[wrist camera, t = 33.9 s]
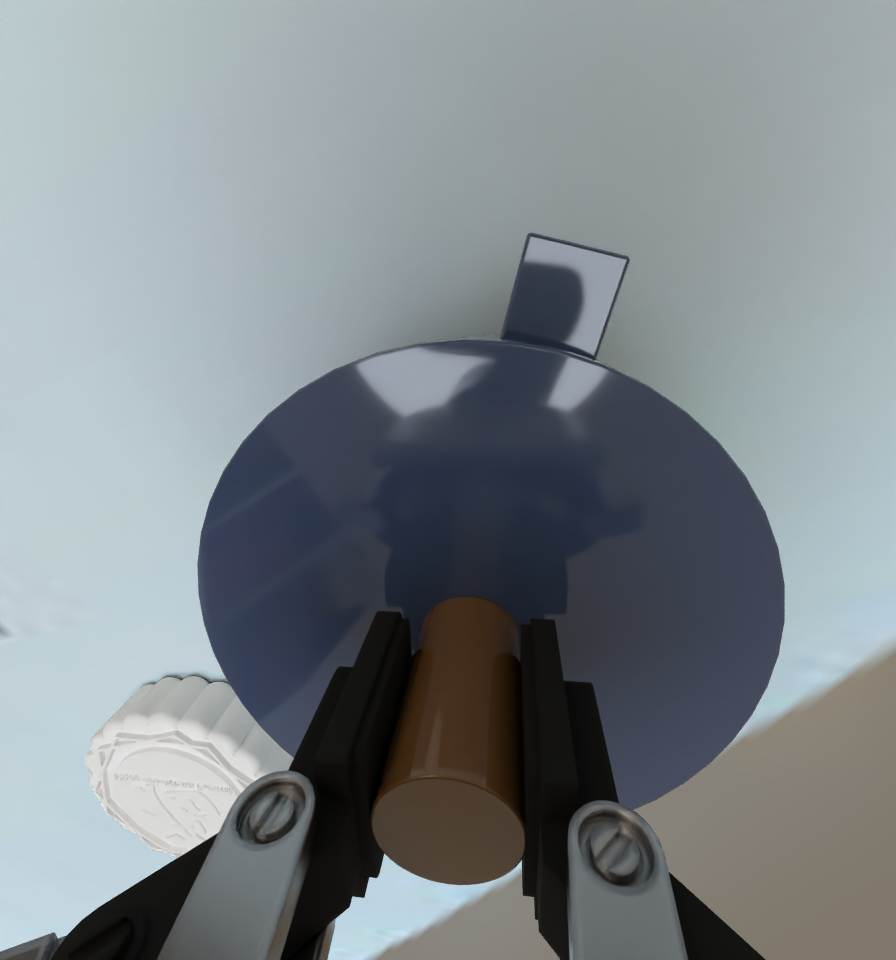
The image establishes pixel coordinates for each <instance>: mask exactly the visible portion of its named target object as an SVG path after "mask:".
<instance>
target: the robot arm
mask: <svg viewBox="0 0 896 960" xmlns="http://www.w3.org/2000/svg"><path fill="white" fill-rule="evenodd" d="M411 660H412V649H411V635H410V622H409V619H406V618H402V615H401V613H400V612H390V611H377V612H376V614H375V616H374V619H373V621H372V623H371V626H370V628H369V630H368V633H367V635H366V637H365V640H364V642H363V644H362V647H361V649H360V651H359V654H358V656H357V658H356V661H355V663H354V665H353V667H344V666H339V667H338V668H337V669H336V671H335V672H334V674H333V676H332V678H331V681H330V683H329V685H328V687H327V689H326V691H325V693H324V695H323V697H322V700H321V702H320V704H319V706H318V708H317V710H316V712H315V714H314V716H313V719H312V721H311V723H310V725H309V727H308V729H307V731H306V733H305V736H304V738H303V740H302V742H301V744H300V746H299V748H298V750H297V752H296V755H295V757H294V759H293V761H292V763H291V765H290V767H289V769H288V770H286V771H277V772H273V773H270V774H268V775H265V776H262V777H261V778H259V779H258V780H256V781H254V782H253V783H251V784H250V785H249V786H248V787H247V788H246V789H245V790H244V791H243V792H242V793H241V794H240V795H239V796H238V797H237V799H236V800H235V802H234V804H233V805H232V807H231V808H230V810H229V812H228V814H227V817H226V819H225V821H224V823H223V825H222V827H221V829H220V831H219V832H218V833H217V834H215V835H214V836H212V837H210V838H209V839H207V840H206V841H204V842H202V843H201V844H199V845H198V846H196V847H194V848H193V849H191V850H190V851H188V852H186V853H185V854H183V855H182V856H180V857H178V858H177V859H175V860H174V861H172V862H170V863H169V864H167V865H166V866H164V867H162V868H161V869H159V870H158V871H156V872H154V873H153V874H151V875H150V876H148V877H146V878H145V879H143V880H142V881H140V882H138V883H137V884H135V885H134V886H132V887H130V888H129V889H127V890H126V891H124V892H122V893H121V894H119V895H118V896H116V897H114V898H113V899H111V900H110V901H108V902H106V903H105V904H103V905H102V906H100V907H99V908H97V909H96V910H95V911H93V912H92V913H91V914H89V915H88V916H87V917H85V918H84V919H83V920H81V922H80V923H79V924H78V925H77V926H76V927H75V928H74V929H73V930H72V931H71V932H70V933H69V934H68V935H67V936H64V937H61V938H59V939H58V938H57V936H56V934H55V932H54V933H51V934H48V935H45V936H43V937H40V938H37V939H34V940H31V941H29V942H26V943H23V944H20V945H18V946H15V947H12V948H9V949H7V950H4V951H1V952H0V960H327V959H328V954H329V950H330V945H331V941H332V937H333V932H334V928H335V919H336V918H337V917H338V916H339V915H340V914H342V913H343V912H344V911H345V910H346V909H348V908H349V907H350V903H351V899H352V896H354V897H362V898H364V897H365V892H366V888H367V884H368V880H369V877H373V878H377V877H378V875H379V873H380V869H381V865H382V861H383V856H384V852H383V851H382V850H381V849H380V847H379V846H378V844H377V843H376V841H375V839H374V837H373V834H372V830H371V822H370V811H371V807H372V803H373V799H374V796H375V792H376V788H377V785H378V781H379V777H380V774H381V770H382V766H383V763H384V759H385V755H386V752H387V748H388V744H389V741H390V737H391V733H392V730H393V726H394V722H395V719H396V715H397V711H398V708H399V704H400V700H401V697H402V693H403V689H404V686H405V682H406V678H407V675H408V671H409V667H410V664H411ZM520 667H521V699H522V730H523V762H524V793H525V854H524V856H523V858H522V886H523V896H531V897H534V905H535V919H536V920H538V924H539V932H540V933H541V935H542V936H543V937H544V938H545V940H546V941H547V942H548V944H549V945H550V946H551V948H552V949H553V950H554V951H555V953H556V954H557V956H558V957H557V960H765V959H764V958H763V957H762V956H761V955H760V954H759V953H758V952H757V951H755V950H754V949H753V948H752V947H751V946H750V945H749V944H748V943H747V942H746V941H744V940H743V939H742V938H741V937H740V936H739V935H738V934H737V933H736V932H735V931H733V930H732V929H731V928H730V927H729V926H728V925H727V924H726V923H725V922H723V921H722V920H721V919H720V918H719V917H718V916H717V915H716V914H715V913H714V912H712V911H711V910H710V909H709V908H708V907H707V906H706V905H705V904H704V903H703V902H702V901H700V900H699V899H698V898H697V897H696V896H695V895H694V894H693V893H692V892H690V891H689V890H688V889H687V888H686V887H685V886H684V885H683V884H682V883H681V882H679V881H678V880H677V879H676V878H675V877H674V876H673V875H672V874H670V872H668V867H667V863H666V858H665V855H664V851H663V849H662V846H661V843H660V840H659V838H658V837H657V835H656V834H655V832H654V831H653V829H652V828H651V826H650V825H649V824H648V823H647V822H646V821H645V820H644V819H643V818H642V817H641V816H640V815H639V814H638V813H636V812H635V811H633V810H631V809H630V808H628V807H626V806H624V805H622V804H619V800H618V796H617V791H616V787H615V782H614V778H613V773H612V769H611V764H610V760H609V755H608V750H607V746H606V741H605V737H604V732H603V728H602V723H601V719H600V714H599V710H598V705H597V701H596V696H595V692H594V688H593V685H592V683H591V682H577V681H564V679H563V672H562V665H561V658H560V652H559V645H558V638H557V631H556V624H555V620H554V619H534V618H531V621H530V625H525V624H522V625H521V657H520Z"/></svg>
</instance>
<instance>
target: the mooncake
mask: <svg viewBox="0 0 896 960" xmlns="http://www.w3.org/2000/svg"><path fill="white" fill-rule="evenodd" d="M90 748H91V751H90V752H89V753H88V754H87V756H86V760H85V762H86V766H87V768H88V770H89V771H90V772H91V774H90V776H89V784H90V786H91V788H92V789H93V792H94V793H95V794H96V795H97V796H98V797H99V800H100V803H101V805H102V807H103V808H104V809H105V813H106V814H107V815H108V816H110V817H112V818H113V819H115V820H117V822H118V823H119V825H120V826H121V827H123V828H124V829H126V830H128V831H131V832H135V833H136V834H137V835H138V836H139V838H140V839H141V840H142V841H143V842H144V843H146V844H147V845H148V846H149V847H150V848H151V849H152V850H155V851H162V852H167V853H168V854H170V855H173V856H174V857H176V858H178V857H180V856H182V855H183V854H185V853H186V852H188V851H190V850H191V849H193V848H194V847H196V846H198V845H199V844H201V843H202V842H204V841H206V840H207V839H209V838H210V837H212V836H214V835H215V834H217V833H218V832H219V831H220V829H221V827H222V825H223V823H224V821H225V819H226V817H227V814H228V812H229V810H230V808H231V807H232V805H233V804H234V802H235V800H236V799H237V797H238V796H239V795H240V794H241V793H242V792H243V791H244V790H245V789H246V788H247V787H248V786H249V785H250V784H251V783H253V782H254V781H256V780H258V779H259V778H261V777H262V776H265V775H268V774H270V773H273V772H277V771H286V770H288V769H289V767H290V765H291V763H292V761H293V759H294V758H293V757H292V756H290V755H289V754H288V753H287V752H285V751H284V750H283V749H282V748H281V747H280V746H279V745H278V744H277V743H276V742H275V741H274V740H273V739H272V738H271V737H270V736H269V735H268V734H267V733H266V732H265V731H264V730H263V729H262V728H261V727H260V726H259V725H258V723H257V722H256V721H255V720H254V718H253V717H252V716H251V715H250V713H249V712H248V711H247V710H246V708H245V707H244V706H243V705H242V703H241V702H240V700H239V699H238V697H237V695H236V694H235V692H234V691H233V689H232V687H231V686H230V685H228V684H226V683H223V682H213V683H211V684H209V683H208V682H207V681H206V680H204V679H203V678H200V677H196V676H190V677H186V678H184V679H183V680H182V681H181V680H179V679H177V678H173V677H166V678H163V679H161V680H159V681H158V682H157V683H156V684H155V685H153V684H149V685H145V686H143V687H141V688H140V689H139V690H138V691H137V692H136V693H135V694H134V695H133V696H132V697H131V698H130V699H129V700H128V701H127V702H126V703H125V704H124V705H123V706H122V707H121V708H120V709H119V710H118V711H117V712H116V713H115V714H114V715H113V716H112V717H111V718H110V719H109V720H108V721H107V722H106V723H105V724H104V726H103V727H102V728H101V729H100V730H99V731H98V732H97V733H96V734H95V735H94V736H93V737H92V739H91V742H90Z"/></svg>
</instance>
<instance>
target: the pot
mask: <svg viewBox="0 0 896 960" xmlns="http://www.w3.org/2000/svg"><path fill="white" fill-rule="evenodd" d="M628 264H629V257H628V256H625V255H621V254H617V253H613V252H609V251H605V250H601V249H597V248H593V247H589V246H585V245H580V244H576V243H572V242H568V241H564V240H560V239H556V238H552V237H548V236H544V235H540V234H536V233H528V235H527V237H526V241H525V244H524V248H523V252H522V256H521V259H520V263H519V267H518V271H517V275H516V278H515V282H514V286H513V290H512V293H511V297H510V301H509V305H508V309H507V312H506V316H505V320H504V324H503V327H502V331H501V333H490V334H484V335H478V336H471V337H462V338H488V339H511V340H517V341H523V342H528V343H534V344H539V345H545V346H550V347H556V348H559V349H563V350H566V351H569V352H572V353H575V354H578V355H581V356H584V357H587V358H590V359H593V360H596V357H597V354H598V351H599V348H600V346H601V343H602V340H603V337H604V334H605V331H606V328H607V325H608V322H609V319H610V317H611V314H612V311H613V308H614V305H615V302H616V299H617V296H618V293H619V290H620V288H621V285H622V282H623V279H624V276H625V273H626V270H627V267H628Z"/></svg>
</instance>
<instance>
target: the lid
mask: <svg viewBox="0 0 896 960" xmlns="http://www.w3.org/2000/svg"><path fill="white" fill-rule="evenodd" d="M198 589H199V599H200V604H201V610H202V615H203V621H204V625H205V628H206V631H207V634H208V637H209V640H210V643H211V646H212V650H213V652H214V655H215V657H216V659H217V661H218V663H219V665H220V667H221V669H222V671H223V673H224V676H225V678H226V680H227V681H228V683H229V684H230V686H231V687H232V689H233V691H234V692H235V694H236V695H237V697H238V699H239V700H240V702H241V703H242V705H243V706H244V707H245V708H246V710H247V711H248V712H249V713H250V715H251V716H252V717H253V718H254V720H255V721H256V722H257V723H258V725H259V726H260V727H261V728H262V729H263V730H264V731H265V732H266V733H267V734H268V735H269V736H270V737H271V738H272V739H273V740H274V741H275V742H276V743H277V744H278V745H279V746H280V747H281V748H282V749H283V750H284V751H285V752H287V753H288V754H289V755H290V756H292V757H293V758H294V757H295V755H296V752H297V750H298V748H299V746H300V744H301V742H302V740H303V738H304V736H305V733H306V731H307V729H308V727H309V725H310V723H311V721H312V719H313V716H314V714H315V712H316V710H317V708H318V706H319V704H320V702H321V700H322V697H323V695H324V693H325V691H326V689H327V687H328V685H329V683H330V681H331V678H332V676H333V674H334V672H335V671H336V669H337V668H338V667H339V666H344V667H353V665H354V663H355V661H356V658H357V656H358V654H359V651H360V649H361V647H362V644H363V642H364V640H365V637H366V635H367V633H368V630H369V628H370V626H371V623H372V621H373V619H374V616H375V614H376V612H377V611H390V612H400V613H401V615H402V618H406V619H409V622H410V635H411V649H412V660H411V664H410V667H409V671H408V675H407V678H406V682H405V686H404V689H403V693H402V697H401V700H400V704H399V708H398V711H397V715H396V719H395V722H394V726H393V730H392V733H391V737H390V741H389V744H388V748H387V752H386V755H385V759H384V763H383V766H382V770H381V774H380V777H379V781H378V785H377V788H376V792H375V796H374V799H373V803H372V807H371V811H370V822H371V830H372V834H373V837H374V839H375V841H376V843H377V844H378V846H379V847H380V849H381V850H382V851H383V852H384V853H385V854H386V855H387V856H388V857H389V858H390V859H391V860H392V861H393V862H394V863H396V864H397V865H399V866H400V867H402V868H403V869H405V870H407V871H409V872H410V873H412V874H415V875H417V876H419V877H422V878H425V879H428V880H431V881H435V882H439V883H445V884H453V885H472V884H480V883H485V882H489V881H492V880H495V879H498V878H500V877H502V876H504V875H506V874H507V873H509V872H510V871H512V870H513V869H514V868H515V867H516V866H517V865H518V864H519V863H520V861H521V860H522V858H523V856H524V854H525V793H524V762H523V730H522V699H521V667H520V657H521V625H522V624H525V625H530V621H531V618H534V619H554V620H555V624H556V631H557V638H558V645H559V652H560V658H561V665H562V672H563V679H564V681H577V682H591V683H592V685H593V688H594V692H595V696H596V701H597V705H598V710H599V714H600V719H601V723H602V728H603V732H604V737H605V741H606V746H607V750H608V755H609V760H610V764H611V769H612V773H613V778H614V782H615V787H616V791H617V796H618V800H619V804H622V805H624V806H626V807H628V808H630V809H631V810H634V809H636V808H639V807H641V806H643V805H645V804H647V803H650V802H652V801H654V800H656V799H658V798H660V797H661V796H663V795H665V794H666V793H668V792H670V791H672V790H673V789H675V788H677V787H678V786H680V785H682V784H684V783H685V782H686V781H688V780H689V779H690V778H691V777H693V776H694V775H695V774H697V773H698V772H699V771H701V770H702V769H703V768H704V767H706V766H707V765H708V764H710V763H711V762H712V761H713V760H714V759H715V758H716V757H717V756H718V755H719V754H720V753H721V752H722V751H723V750H724V749H725V748H726V747H727V746H728V745H729V744H730V743H731V742H732V741H733V739H734V738H735V737H736V735H737V734H738V733H739V731H740V730H741V729H742V727H743V726H744V725H745V723H746V722H747V721H748V719H749V718H750V717H751V715H752V714H753V712H754V710H755V708H756V706H757V704H758V703H759V701H760V699H761V697H762V695H763V693H764V692H765V690H766V688H767V686H768V683H769V680H770V677H771V675H772V672H773V669H774V666H775V663H776V660H777V658H778V655H779V649H780V643H781V638H782V632H783V626H784V579H783V573H782V568H781V562H780V556H779V550H778V546H777V543H776V540H775V538H774V535H773V532H772V529H771V526H770V523H769V521H768V518H767V515H766V512H765V510H764V508H763V506H762V505H761V503H760V501H759V499H758V497H757V496H756V494H755V492H754V490H753V488H752V487H751V485H750V483H749V481H748V479H747V478H746V476H745V474H744V473H743V472H742V471H741V469H740V468H739V467H738V466H737V464H736V463H735V462H734V461H733V459H732V458H731V457H730V455H729V454H728V453H727V452H726V450H725V449H724V448H723V447H722V445H721V444H720V443H719V442H718V441H717V440H716V439H715V438H714V437H713V436H712V435H711V434H710V433H709V432H708V431H706V430H705V429H704V428H703V427H702V426H701V425H700V424H699V423H698V422H697V421H696V420H695V419H693V418H692V417H691V416H690V415H689V414H688V413H687V412H686V411H684V410H683V409H681V408H680V407H679V406H677V405H676V404H674V403H673V402H671V401H670V400H668V399H667V398H665V397H664V396H662V395H661V394H659V393H658V392H657V391H655V390H654V389H652V388H651V387H649V386H648V385H646V384H644V383H643V382H641V381H639V380H637V379H635V378H633V377H630V376H628V375H626V374H624V373H622V372H620V371H618V370H616V369H614V368H612V367H610V366H608V365H606V364H604V363H602V362H599V361H596V360H593V359H590V358H587V357H584V356H581V355H578V354H575V353H572V352H569V351H566V350H563V349H559V348H556V347H550V346H545V345H539V344H534V343H528V342H523V341H517V340H511V339H488V338H456V339H446V340H435V341H424V342H418V343H414V344H410V345H406V346H402V347H397V348H393V349H389V350H385V351H380V352H377V353H375V354H372V355H370V356H367V357H364V358H362V359H359V360H357V361H354V362H352V363H349V364H347V365H344V366H342V367H339V368H336V369H334V370H332V371H330V372H329V373H327V374H325V375H323V376H322V377H320V378H318V379H317V380H315V381H313V382H311V383H310V384H308V385H306V386H304V387H303V388H301V389H299V390H298V391H296V392H295V393H294V394H293V395H291V396H290V397H289V398H288V399H286V400H285V401H284V402H283V403H281V404H280V405H279V406H278V407H276V408H275V409H274V410H273V411H271V412H270V413H269V414H268V415H267V416H266V417H265V418H264V419H263V420H262V421H261V422H260V423H259V424H258V425H257V427H256V428H255V429H254V430H253V431H252V432H251V433H250V434H249V435H248V436H247V437H246V439H245V440H244V441H243V442H242V444H241V445H240V447H239V448H238V450H237V451H236V453H235V454H234V456H233V457H232V459H231V460H230V462H229V463H228V465H227V466H226V468H225V469H224V471H223V473H222V475H221V478H220V480H219V482H218V484H217V486H216V489H215V491H214V493H213V495H212V497H211V500H210V502H209V506H208V509H207V513H206V517H205V520H204V524H203V528H202V531H201V538H200V546H199V555H198Z"/></svg>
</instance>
